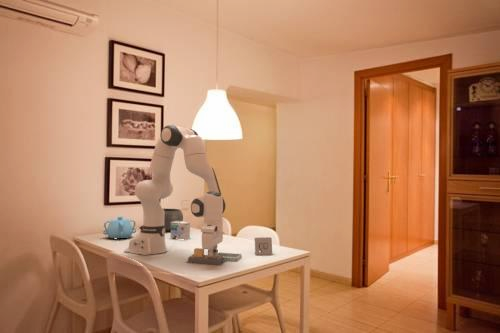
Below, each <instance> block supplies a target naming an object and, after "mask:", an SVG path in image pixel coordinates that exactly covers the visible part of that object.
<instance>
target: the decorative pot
mask: <svg viewBox="0 0 500 333" xmlns="http://www.w3.org/2000/svg"><path fill="white" fill-rule="evenodd" d="M131 222H133V226H132V223H131ZM107 223H109V224H108V226H107ZM136 225H137V224H136V221H135V220H134V219H128V218H124V217H123V216H117V218H113V219H111V220H106V221H105V222H104V224H103V227H104V230H103V232H102V234H103V235H106V236H108V238H110V239H113V238H117V239H123V238H130V237H131V236H132V235H133V234H136V233H137V229H136V228H135V227H136Z"/></svg>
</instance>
